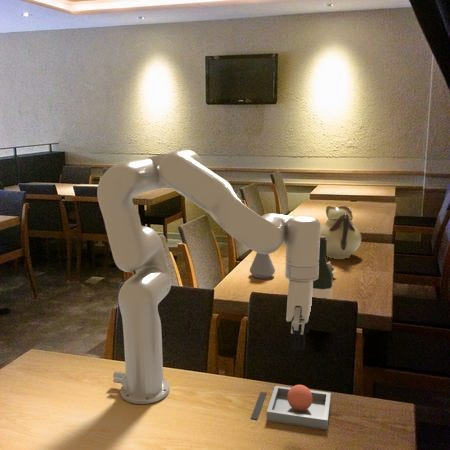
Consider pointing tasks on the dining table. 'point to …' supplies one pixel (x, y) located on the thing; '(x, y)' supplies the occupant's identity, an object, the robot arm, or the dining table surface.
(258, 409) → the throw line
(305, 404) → the ball
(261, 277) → the coffee pot
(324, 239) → the wine bottle
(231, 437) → the dining table surface
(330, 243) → the white drawstring sack
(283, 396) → the tray
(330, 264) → the architectural model
